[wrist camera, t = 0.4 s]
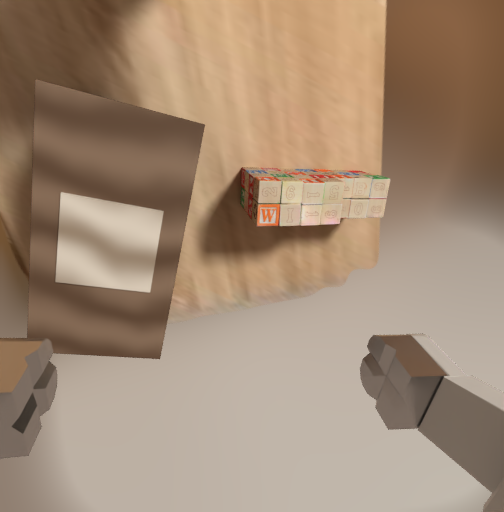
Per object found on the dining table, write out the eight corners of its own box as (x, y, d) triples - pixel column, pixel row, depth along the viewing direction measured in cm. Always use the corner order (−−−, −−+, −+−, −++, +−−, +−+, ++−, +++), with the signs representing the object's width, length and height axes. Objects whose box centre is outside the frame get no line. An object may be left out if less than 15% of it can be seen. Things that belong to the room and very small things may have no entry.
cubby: (81, 91, 45) (34, 78, 29) (193, 121, 49) (205, 124, 34) (67, 284, 54) (25, 353, 39) (162, 294, 59) (159, 360, 43)
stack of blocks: (360, 169, 58) (404, 182, 47) (354, 204, 61) (395, 224, 50) (240, 166, 54) (259, 180, 43) (239, 205, 56) (256, 227, 45)
